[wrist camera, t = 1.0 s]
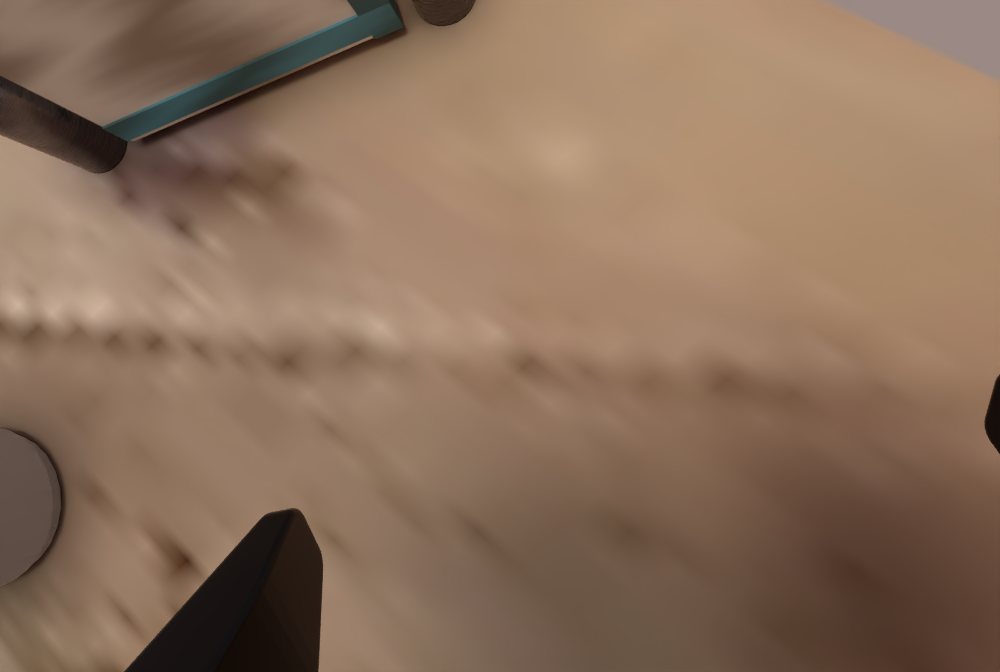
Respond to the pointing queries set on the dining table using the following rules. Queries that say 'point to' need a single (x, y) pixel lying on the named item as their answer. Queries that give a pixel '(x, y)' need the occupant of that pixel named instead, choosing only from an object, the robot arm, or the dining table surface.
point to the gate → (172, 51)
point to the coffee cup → (25, 504)
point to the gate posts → (87, 142)
